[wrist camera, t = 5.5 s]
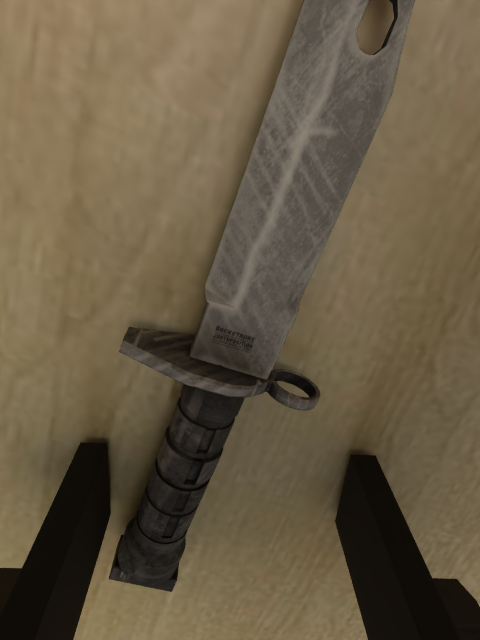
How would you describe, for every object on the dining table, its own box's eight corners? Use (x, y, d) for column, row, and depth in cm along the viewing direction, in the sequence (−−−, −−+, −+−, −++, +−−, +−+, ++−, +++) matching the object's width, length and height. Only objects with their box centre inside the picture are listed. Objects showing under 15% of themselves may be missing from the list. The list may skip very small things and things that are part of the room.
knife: (325, -393, 5) (650, -188, 6) (299, -259, 7) (553, -116, 8) (50, 585, 12) (219, 618, 13) (73, 526, 14) (220, 558, 15)
